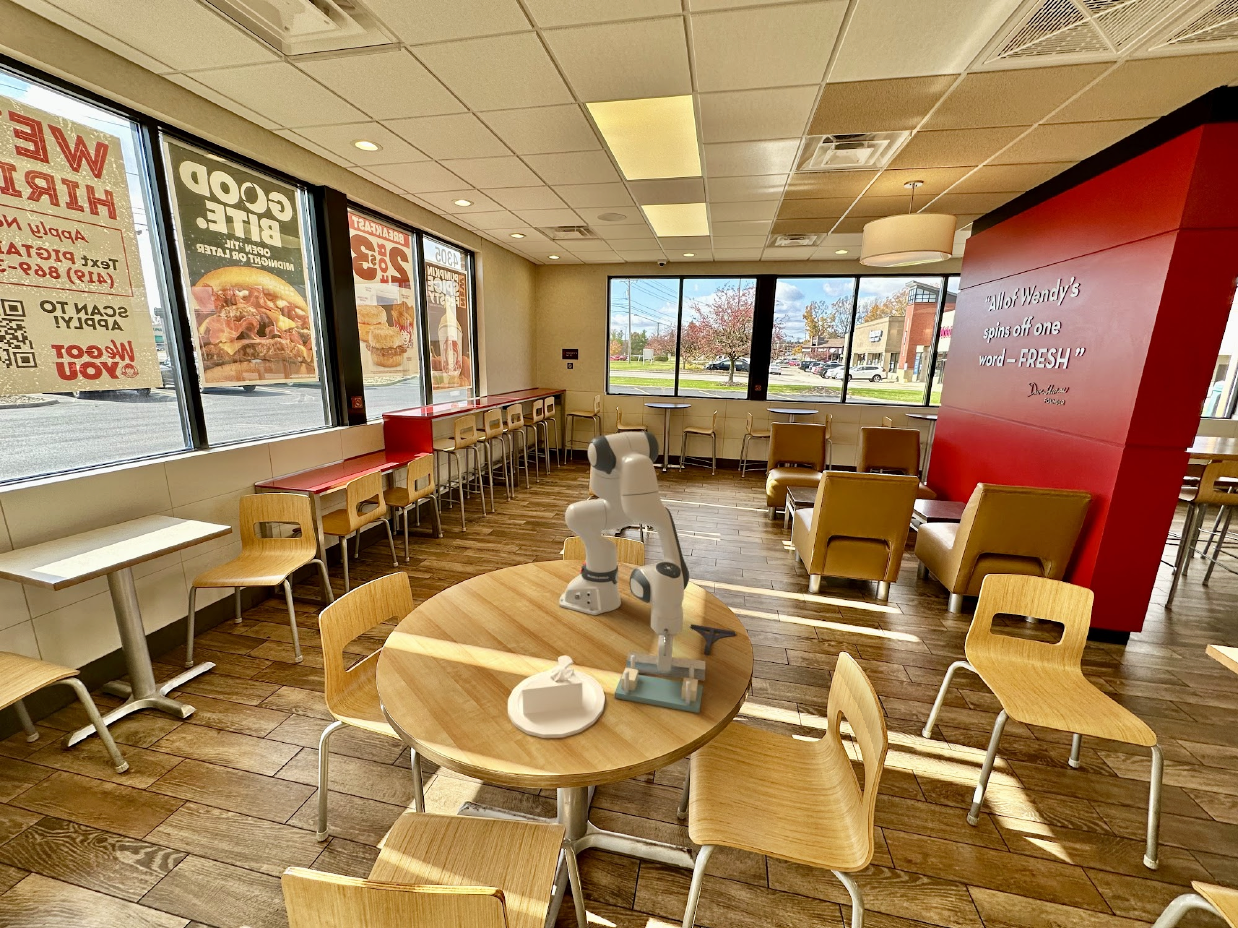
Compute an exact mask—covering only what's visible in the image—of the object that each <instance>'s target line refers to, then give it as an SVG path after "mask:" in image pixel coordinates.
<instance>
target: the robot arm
mask: <svg viewBox="0 0 1238 928" xmlns="http://www.w3.org/2000/svg"><path fill="white" fill-rule="evenodd" d="M659 446H660V445H659V441H658V439H657V437H656V436H655V435H654V434H653V433H652V432H650V431H643V430H642V431H639V432H637V431H623V432H618V433H612V434H606V435H598V436H595V437H593V438H592V439H591V440H590V441H589V443H588V446H587V458H588V461H589V463H590V466H591V471H590V479H589V487H590V491H591V492H592V493H593V494H594V495H595V496H596V497H597V498H598V499H587V500H586V499H585V500H580V501H577V502H573V503H570V504H569V505H568V507H566V511H565V513H564V521H565V524H566V526H567V527H568V529H569V530H570V531H571V532H573V533H575V534H576V535H577V536H578V537H579V539H580V540H581V541H582V543H583V545H584V549H585V550H584V551H585V561H584V562H583V563H582V566H581V567H580V569H579V575H578V576H576V577H575V578H573V579H572V580H570V582H569V583H568V584H567V586H566V589H565V591H564V592H563V593H562V594H561V596H560V597H559V600H558V605H559V607H561V608H565V609H568V610H573V611H575V612H576V611H577V612H581V613H584V614H588V615H592V616H597V615H600V614H602V613H608V612H611V611H614V610H616V609H619V607H620V606H621V604H622V600H621V595H620V592H619V585H618V581H619V565H618V548H617V545H616V543H615V542H614V541H613V540H611V539H610V538H607V537H605V536H603V535H602V532H603V531H608V530H609V531H611V530H618V529H623V528H624V529H625V528H627V527H629V526H632V525H634V524H635V523H637V524H641V525H644V526H647V527H648V526H649V527H651V528H653V529H655V531H656V532H657V534H658V538H659V541H660V545H661V549H662V553H663V559H662V561H658V562H654V563H650V564H645V565H642V566H638V567H636V568H634V569H633V570H632V571H631V574H630V575H629V576H630V577H629V590H630V593H631V594H632V595H633V596H634V597H635V598H637V599H638V600H640V601H642V602H644V603H645V604H650V606H651V607H650V608H651V610H650V628H651V629H652V630H653V631H654V633H655V634H656V635H657V636H658V642H657V643H658V645H657V656H658V661H657V667H658V670H661V671H662V672H663V673H668V671H670V670H671V663H672V657H673V641H674V637H676V636H677V635H678V633H680V632H681V631H682V630H683V627H684V626H683V621H684V609H683V602H684V598H685V596H684V595H685V590H686V588H687V587H688V584H689V582H690V571H689V568H688V567H687V564H686V562H685V559H684V556H683V552H682V549H681V544H680V541H679V540H680V539H679V536H678V533H677V529H676V525H675V522H674V521H675V520H674V518H673V515H672V513H671V511H670V509H669V508H668V507H666V506H665V505H664V504H663V502H662V499H661V496H660V492H659V485H658V484H659V483H658V479H657V478H658V477H657V474H656V470H655V467H654V463H655V462H656V461H657V459H658V456H659V453H660V447H659Z"/></svg>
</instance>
